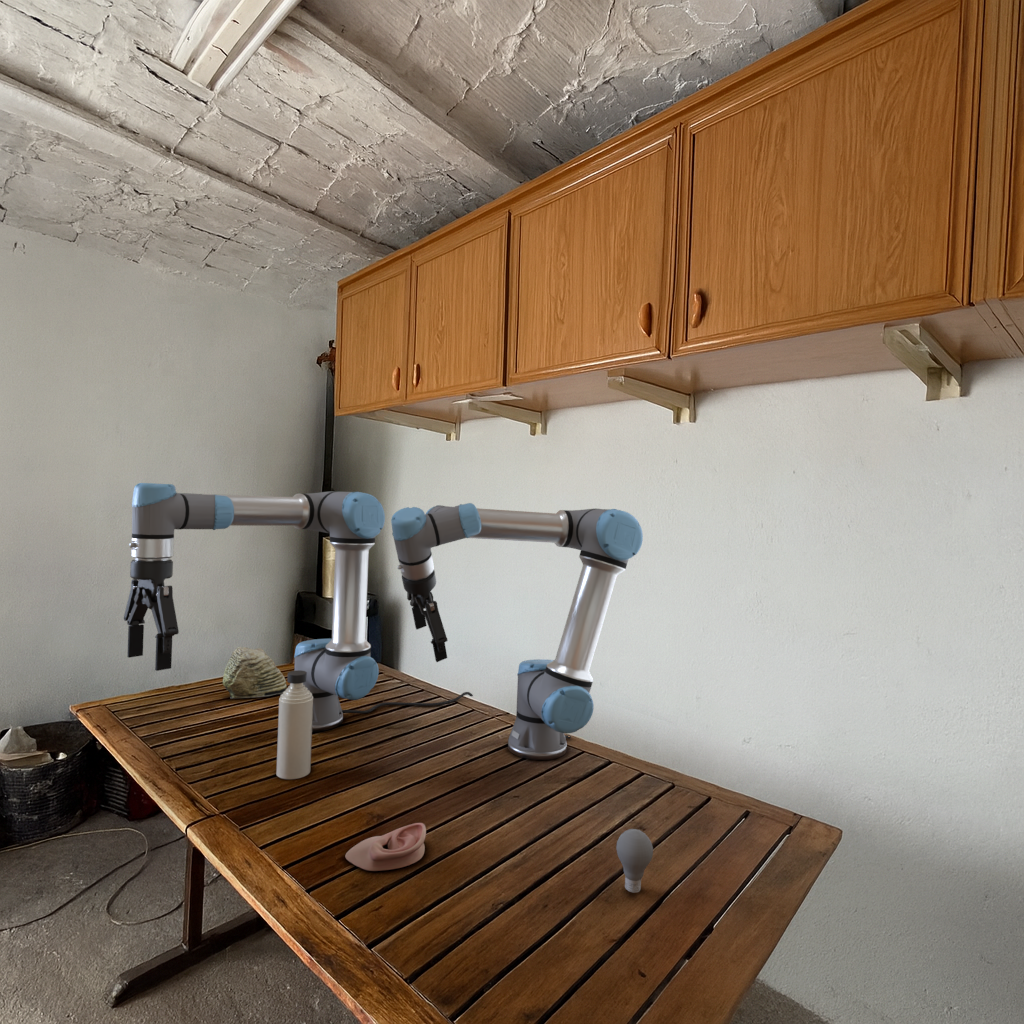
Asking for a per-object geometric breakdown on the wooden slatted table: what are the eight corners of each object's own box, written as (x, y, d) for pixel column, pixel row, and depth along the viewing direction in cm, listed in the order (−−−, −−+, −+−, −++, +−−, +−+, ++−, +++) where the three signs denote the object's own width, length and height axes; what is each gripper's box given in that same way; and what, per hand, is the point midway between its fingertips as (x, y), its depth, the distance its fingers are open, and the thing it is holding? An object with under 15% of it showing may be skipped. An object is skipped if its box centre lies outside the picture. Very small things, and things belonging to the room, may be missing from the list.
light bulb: (610, 879, 108) (613, 822, 108) (644, 879, 109) (647, 822, 109) (619, 902, 102) (622, 840, 102) (655, 901, 103) (658, 840, 103)
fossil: (218, 695, 195) (220, 647, 195) (278, 685, 208) (279, 640, 207) (228, 703, 189) (230, 653, 188) (289, 692, 201) (290, 645, 201)
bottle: (274, 780, 140) (278, 679, 140) (278, 766, 148) (281, 670, 147) (309, 778, 142) (313, 678, 142) (311, 764, 149) (315, 669, 149)
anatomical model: (337, 842, 109) (366, 811, 120) (336, 865, 109) (365, 832, 120) (410, 854, 106) (432, 821, 117) (409, 878, 106) (432, 842, 118)
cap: (286, 683, 142) (286, 675, 142) (288, 678, 146) (288, 670, 146) (305, 683, 143) (306, 675, 143) (306, 678, 147) (307, 670, 147)
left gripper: (108, 554, 134) (104, 654, 134) (159, 565, 118) (155, 678, 119) (146, 552, 140) (143, 648, 140) (199, 563, 124) (195, 671, 124)
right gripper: (385, 551, 152) (399, 619, 163) (421, 606, 133) (435, 680, 143) (414, 541, 155) (426, 609, 166) (454, 594, 136) (465, 667, 146)
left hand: (148, 662), depth 129 cm, fingers open, 13 cm apart
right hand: (431, 642), depth 155 cm, fingers open, 13 cm apart
